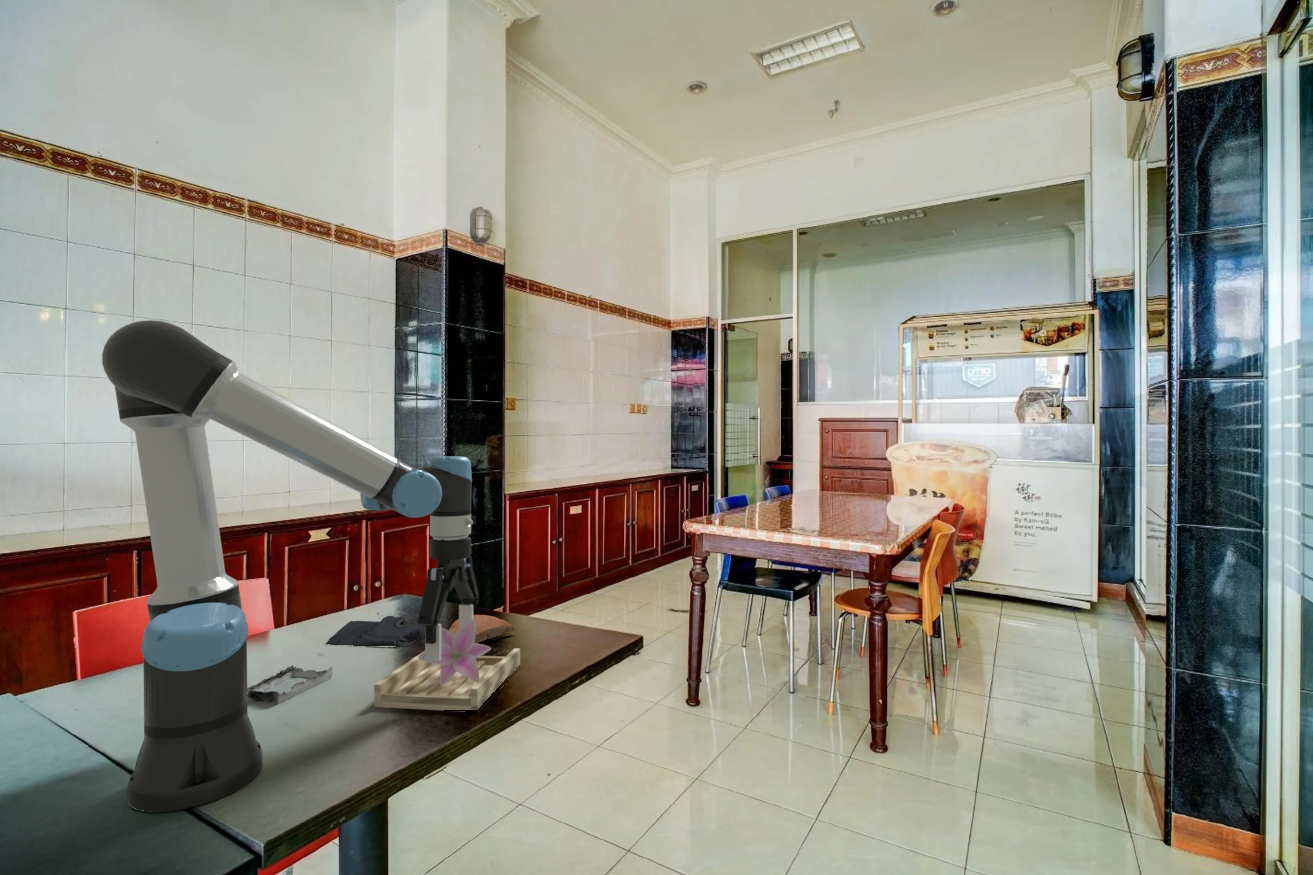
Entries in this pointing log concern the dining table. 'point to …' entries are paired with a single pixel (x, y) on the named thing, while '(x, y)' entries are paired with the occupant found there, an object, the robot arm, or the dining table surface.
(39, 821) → the dining table surface
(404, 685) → the drying rack
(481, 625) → the ceramic shard
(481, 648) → the lily
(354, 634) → the dark block with eyelet
